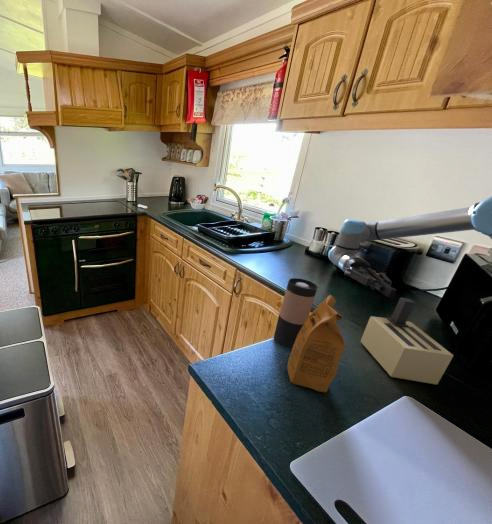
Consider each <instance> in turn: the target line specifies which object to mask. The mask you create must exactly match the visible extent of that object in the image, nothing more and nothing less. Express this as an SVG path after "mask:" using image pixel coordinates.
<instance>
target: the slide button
mask: <svg viewBox="0 0 492 524" xmlns="http://www.w3.org/2000/svg"><path fill="white" fill-rule="evenodd" d="M415 304H416V302H415V301H413V300H412V299H410V298H406V297H399V299H398V301H397V304H396V306H395V309H394V310H393V313H392V315H391V317H389V316H387V317H386V318H387V319H388V320H389V321H390V322H391V323H392V324H393V325H394V326H399V327H406V328H408V327H409V326H408V325H407V324H406V321H408V319H409V317H410V315H411V312H412V310H413V308H414V306H415Z"/></svg>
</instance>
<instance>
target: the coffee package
mask: <svg viewBox="0 0 492 524" xmlns="http://www.w3.org/2000/svg"><path fill="white" fill-rule="evenodd" d="M336 302H337V300H336V299H335V296H333V295H331V294H330V295H328V296H327V297H325V299H324V300H323V301H322V302H320V303H319V305H318V306H317V307H316V308H315V309H313V311H311V312H310V314H309V317H308V318H307V320H306V322H305V324H304V325H303V327H302V328H301V330H300V331H299V333H298V335H297V338H296V340H295V343H294V345H293V348H291V351H290V354H289V357H288V361H287V364H286V365H287V366H286V367H287V373H288V377H289V378H288V379H289V382H290V383H292V384H293V385H296V386H299V387H304V388H309V389H312V390H314V391H316V392H319V393H321V392H322V393H328V390H329V388H330V385H331V384H332V382H333V380H334V379H335V377H336V376H337V373H338V367H339V364H340V362H341V359H342V357H343V353H344V350H345V347H346V344H345V341H344V337H343V335H342V333H341V330H340V328H339V325H338V321H342V320H343V316H342V314H340V313H339V312H338V311H336V310H335V309H333V307H334V305H335V304H336ZM337 320H338V321H337Z"/></svg>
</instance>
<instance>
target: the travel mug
mask: <svg viewBox="0 0 492 524" xmlns="http://www.w3.org/2000/svg"><path fill="white" fill-rule="evenodd" d="M286 285H287V286H286V289H285V292H284V295H283V299H282V302H281V306H280V308H279V309H280V310H279V313H278V317H277V321H276V326H275V329H274V334H273V340H274V342H275V343H276V344H278V345H279V346H281V347H282V348H286V349H292V348H293V345H294V343H295V340H296V338H297V335H298V333H299V331H300V330H301V328H302V327H303V325H304V324H305V322H306V320H307V318H308V317H309V316H310V314H311V312H312V308H313V303H314V300H315V297H316V294H317V291H318V288H319V287H318V285H317V284H316V283H314V282H312V281H310V280H307V279H304V278H297V277H294V278H293V277H292V278H289V279H288V282H287V284H286Z"/></svg>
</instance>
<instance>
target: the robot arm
mask: <svg viewBox="0 0 492 524" xmlns="http://www.w3.org/2000/svg"><path fill="white" fill-rule="evenodd" d="M465 231H475V232H478V233H480V234H482V235H484V236H488V238H490V240H492V196H489V197H488V198H486V199H484V200H482V201H479V202H475V203H474V204H472V205H471V206H468V207H463V208H456V209H449V210H443V211H437V212H430V213H424V214H416V215H412V216H411V215H410V216H406V217H399V218H393V219H386V220H380V221H372V222H365V221H363V220H360V219H359V220H358V219H351V218H349V219H345V220H344V221H343V223H342V225H341V227H340V231H339V234H338V237H337V239H336V240H337V241H336V243H335V246H333V247H332V248H331V249H329V250H328V253H327V257H328V259H329V261H330V262H331V263H332V264H333V265H335V266H336V267H338V269H340V270H341V271H343V272H344V276H347V277H349V278H351V279H353V280H355V281H356V282H359V283H360V284H361V285H363V286H365V287H369V286H370V289H371V290H373V291H375V290H377V291H379V292H380V293H381V294H383V295H384V296H385V297H387V298H388V299H389V298H390V299H394V298H395V297H396V293H397V291H398V290H397V289H396V288H394V287H393V286H392V283H393V282H392V280H391V279H390V278H389V277H388V276H387V275H386V272H379V273H377V271H376V270H375V269H373V268H372V267H371V265H370V263H369V262H368V261H367V260H365V259H364V258H362V257H360V256H359V255H358V254H357V252H358V249H359V246H360V244H361V243H366V242H373V241H381V240H391V239H392V240H393V239H400V238H409V237H418V236H429V235H436V234H437V235H438V234H446V233H447V234H448V233H456V232H465Z"/></svg>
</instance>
